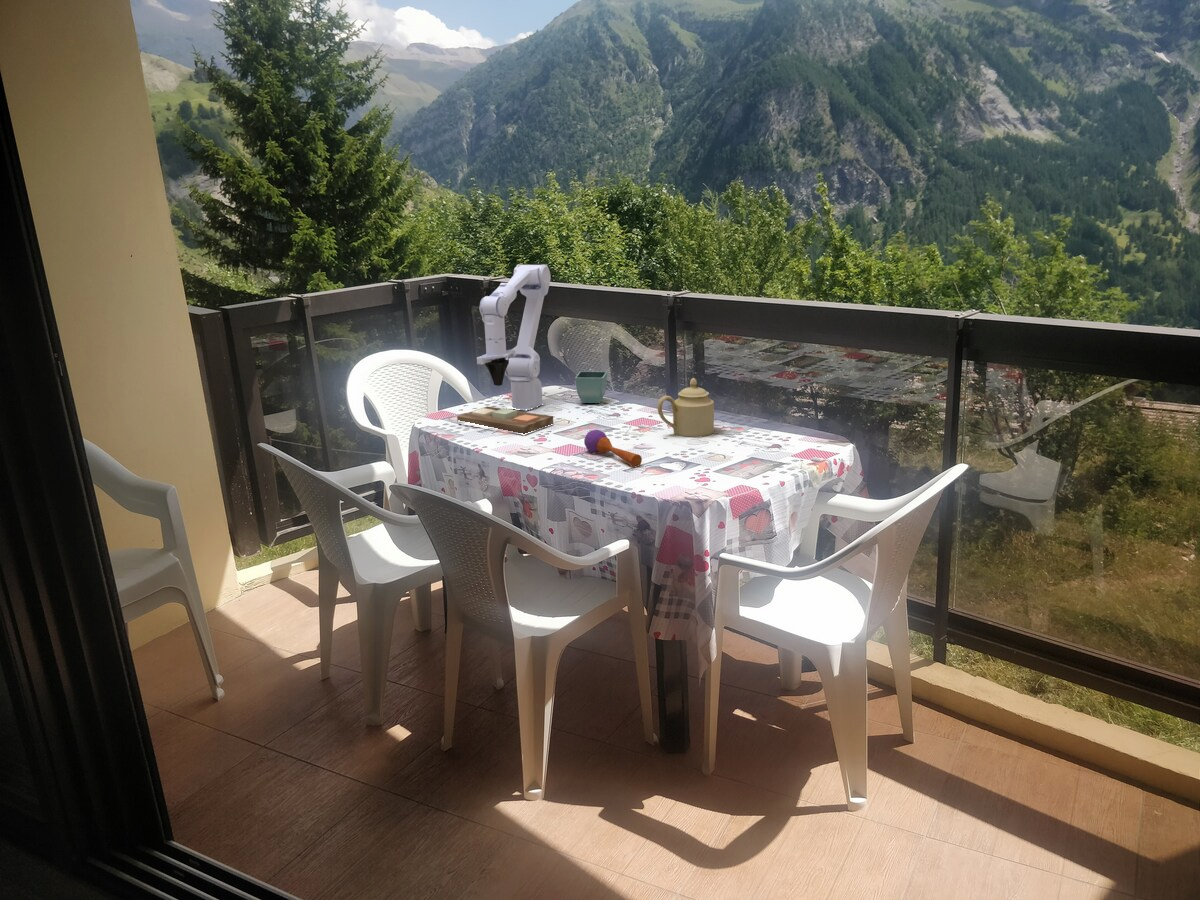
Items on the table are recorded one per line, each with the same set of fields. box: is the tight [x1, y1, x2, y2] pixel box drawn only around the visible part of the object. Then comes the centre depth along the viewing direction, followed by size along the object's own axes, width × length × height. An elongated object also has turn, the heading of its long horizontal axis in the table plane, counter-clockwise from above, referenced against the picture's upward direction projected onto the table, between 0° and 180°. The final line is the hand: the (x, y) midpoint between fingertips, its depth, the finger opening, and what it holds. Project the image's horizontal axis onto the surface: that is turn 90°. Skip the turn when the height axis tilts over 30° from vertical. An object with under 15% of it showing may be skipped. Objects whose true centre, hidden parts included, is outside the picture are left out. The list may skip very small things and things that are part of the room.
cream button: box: [471, 407, 496, 416], centre depth 278 cm, size 5×5×2 cm
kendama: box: [584, 429, 643, 468], centre depth 238 cm, size 6×6×20 cm
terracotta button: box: [514, 415, 539, 423], centre depth 269 cm, size 5×5×2 cm
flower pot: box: [574, 370, 608, 404], centre depth 294 cm, size 9×9×9 cm
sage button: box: [492, 407, 518, 420], centre depth 273 cm, size 5×5×2 cm
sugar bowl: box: [656, 377, 715, 438], centre depth 256 cm, size 15×11×15 cm
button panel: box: [456, 405, 554, 434], centre depth 273 cm, size 13×25×2 cm, turn 54°
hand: (498, 385), depth 276 cm, fingers closed
